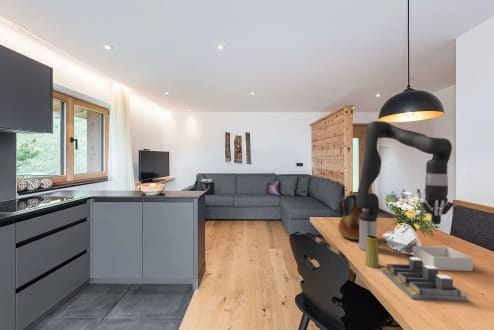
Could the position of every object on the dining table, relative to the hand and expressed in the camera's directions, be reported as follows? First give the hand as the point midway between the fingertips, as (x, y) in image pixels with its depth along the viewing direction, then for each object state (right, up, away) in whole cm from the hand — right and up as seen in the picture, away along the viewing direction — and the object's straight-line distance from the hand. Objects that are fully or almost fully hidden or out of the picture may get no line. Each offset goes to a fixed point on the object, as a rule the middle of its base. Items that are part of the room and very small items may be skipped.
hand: (435, 223), depth 97 cm
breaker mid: (-4, -23, -2) cm, 24 cm away
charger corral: (+17, -25, +17) cm, 35 cm away
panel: (-9, -25, -2) cm, 27 cm away
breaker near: (-6, -24, -10) cm, 26 cm away
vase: (-19, -25, +16) cm, 35 cm away
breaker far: (-5, -23, +6) cm, 24 cm away
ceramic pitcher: (-9, -25, +56) cm, 62 cm away
